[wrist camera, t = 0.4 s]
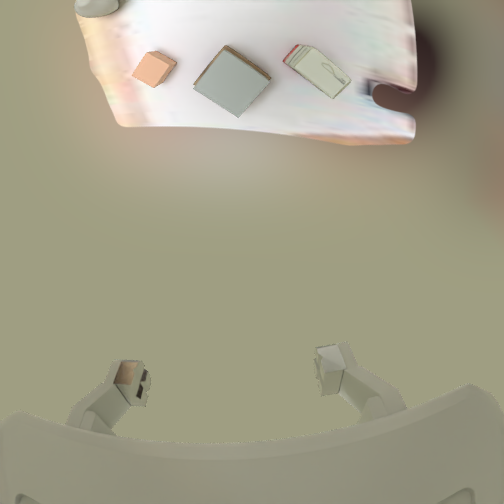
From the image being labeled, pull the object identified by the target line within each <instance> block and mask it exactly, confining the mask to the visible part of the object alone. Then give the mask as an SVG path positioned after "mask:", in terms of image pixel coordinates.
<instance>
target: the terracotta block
mask: <svg viewBox="0 0 504 504" xmlns="http://www.w3.org/2000/svg"><path fill="white" fill-rule="evenodd" d="M176 63H177V62H175V61H173V60H172V59H170V58H168V57H166V56H165V55H163V54H161V53H159V52H157V51H152V52H147V53H146V54H145V56H144V57H143V59H142V60H141V62H140V63H139V65H138V66H137V68H136V69H135V71H134V73H133V74H132V76H133V77H135V78H137V79H139V80H140V81H142V82H144V83H146V84H147V85H149V86H151V87H153V88H155V87H156V86H158V85H160V84H161V83H163V81H164V80H165V78H166V77H167V75H168V74H169V73H170V71H171V70H172V69H173V67H174V66H175V64H176Z"/></svg>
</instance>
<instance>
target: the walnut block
mask: <svg viewBox="0 0 504 504" xmlns="http://www.w3.org/2000/svg"><path fill="white" fill-rule="evenodd" d="M225 49H226V50H227V51H229V52H230V53H232V54H233V55H235V56H236V57H238V58H239V59H241V60H242V61H244V62H245V63H247V64H248V65H250V66H251V67H252V68H254V69H255V70H257V71H258V72H259V73H261V74H262V75H264V76H265V77H266V78H267V79H268V80H270V79H271V77H270V76H269V75H268V74H267V73H265V72H264V71H263V70H261V69H260V68H258V67H257V66H256V65H254V64H253V63H252V62H250V61H249V60H247V59H246V58H244V57H243V56H242V55H240V54H239V53H237V52H236V51H234V50H233V49H231V48H230V47H228V46H227V45H225V46H224V47H223V48H222V49H221V51H220V52H219V53H218V54H217V55H216V56H215V58H214V59H213V60H212V61H211V62H210V64H209V65H208V66H207V67H206V69H205V70H204V71H203V72H202V74H201V75H200V76H199V77H198V79H197V80H196V81H195V83H194V84H193V85H196V84H197V83H198V81H199V80H200V79H201V77H202V76H203V75H204V74H205V72H206V71H207V70H208V69H209V67H210V66H211V65H212V64H213V62H214V61H215V60H216V59H217V57H218V56H219V55H220V54H221V53H222V51H223V50H225Z"/></svg>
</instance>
